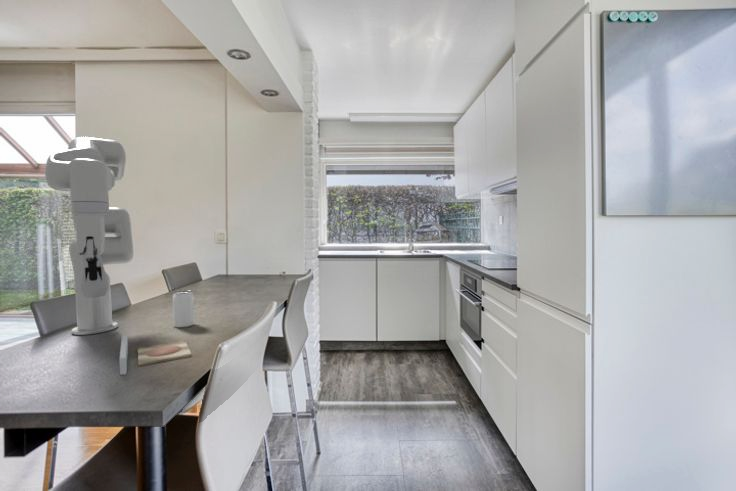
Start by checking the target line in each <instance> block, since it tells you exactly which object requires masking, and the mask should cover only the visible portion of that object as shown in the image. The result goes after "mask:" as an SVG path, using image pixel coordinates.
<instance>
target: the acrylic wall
mask: <svg viewBox="0 0 736 491" xmlns="http://www.w3.org/2000/svg"><path fill="white" fill-rule="evenodd" d="M128 342H129V341H128V334H122V335H121V342H120V352H119V359H118V360H119V374H120V376H122V375H127V370H128V352H129V345H128V344H129V343H128Z"/></svg>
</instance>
